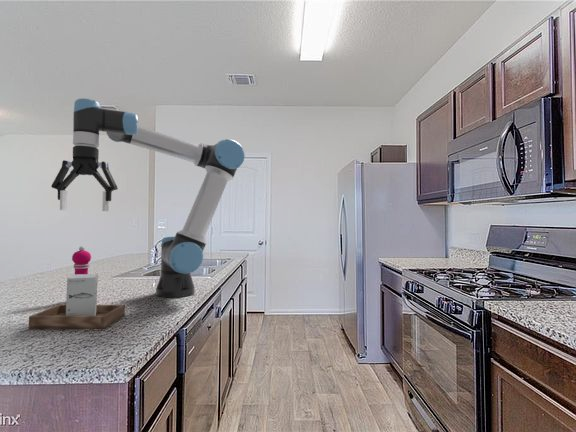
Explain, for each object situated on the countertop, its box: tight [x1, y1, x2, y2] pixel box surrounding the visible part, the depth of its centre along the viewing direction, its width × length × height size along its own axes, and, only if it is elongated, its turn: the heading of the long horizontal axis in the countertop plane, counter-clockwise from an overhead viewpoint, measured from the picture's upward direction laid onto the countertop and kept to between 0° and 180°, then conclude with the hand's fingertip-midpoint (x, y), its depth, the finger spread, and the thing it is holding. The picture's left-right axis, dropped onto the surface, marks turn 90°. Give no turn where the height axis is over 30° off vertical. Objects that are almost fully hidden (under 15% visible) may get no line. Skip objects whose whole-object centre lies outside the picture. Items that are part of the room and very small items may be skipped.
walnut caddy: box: [28, 303, 126, 331], centre depth 105 cm, size 20×14×4 cm
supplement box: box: [65, 273, 99, 316], centre depth 106 cm, size 7×7×13 cm
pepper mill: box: [71, 245, 92, 275], centre depth 131 cm, size 7×7×20 cm
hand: (84, 210), depth 120 cm, fingers open, 13 cm apart
